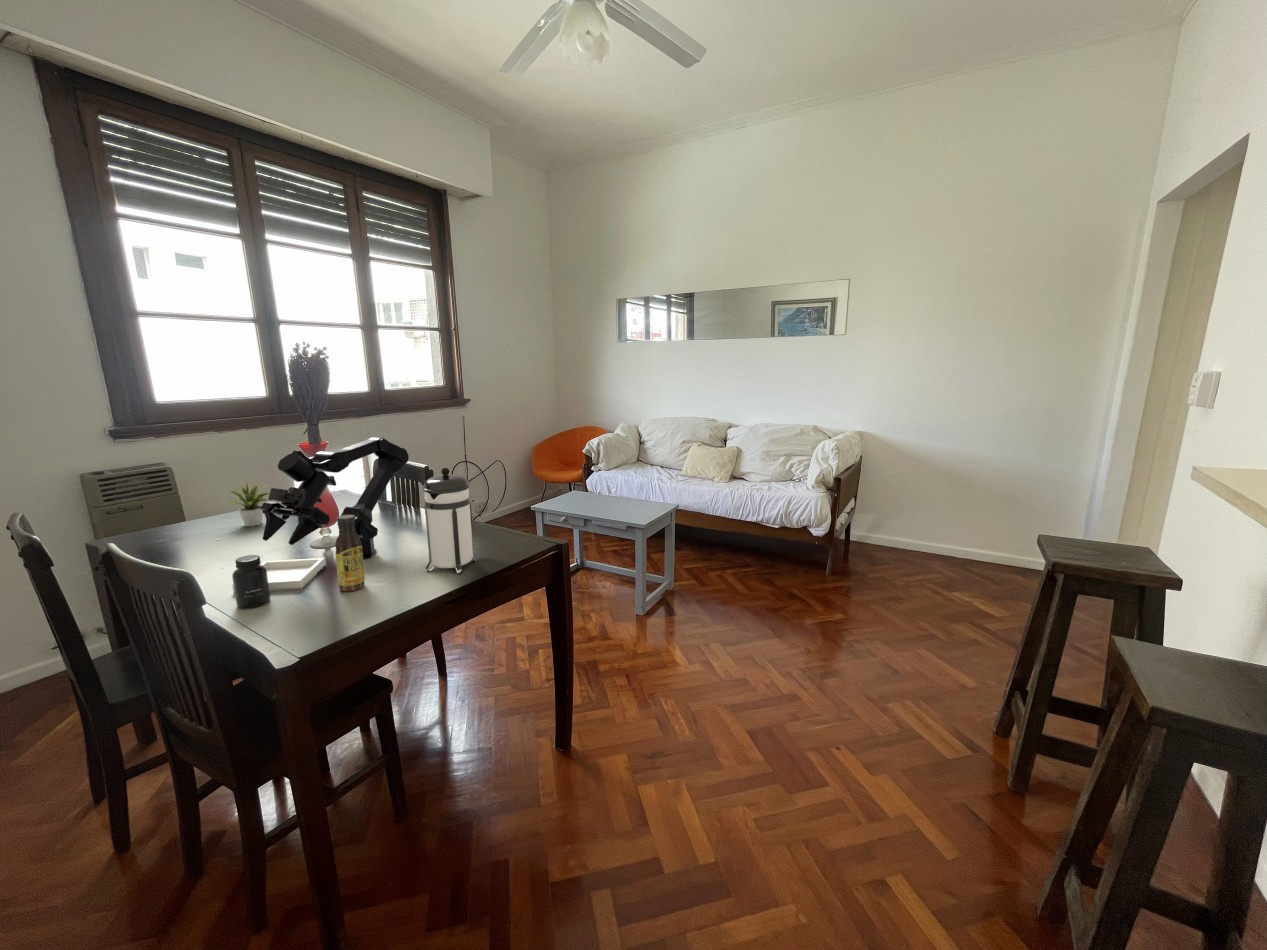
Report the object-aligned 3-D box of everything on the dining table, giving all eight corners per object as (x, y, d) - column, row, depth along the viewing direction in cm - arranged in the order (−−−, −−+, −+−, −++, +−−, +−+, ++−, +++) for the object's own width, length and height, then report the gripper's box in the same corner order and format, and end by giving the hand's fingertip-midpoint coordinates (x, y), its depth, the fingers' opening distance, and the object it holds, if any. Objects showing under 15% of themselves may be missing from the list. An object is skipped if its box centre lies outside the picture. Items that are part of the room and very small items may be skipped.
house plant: (236, 534, 175) (228, 488, 171) (218, 527, 182) (210, 483, 178) (281, 523, 187) (275, 480, 183) (263, 517, 194) (256, 476, 190)
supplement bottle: (253, 611, 122) (245, 564, 119) (230, 608, 123) (221, 562, 120) (278, 598, 128) (271, 554, 126) (255, 595, 130) (248, 552, 127)
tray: (325, 565, 149) (324, 557, 148) (301, 589, 133) (300, 580, 133) (265, 569, 146) (264, 561, 145) (233, 593, 130) (232, 584, 130)
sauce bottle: (347, 594, 130) (337, 522, 126) (334, 589, 134) (324, 518, 129) (371, 585, 136) (363, 515, 131) (358, 580, 139) (350, 511, 135)
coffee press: (488, 569, 147) (482, 469, 141) (430, 580, 139) (421, 475, 133) (473, 550, 162) (467, 459, 155) (420, 559, 154) (411, 464, 147)
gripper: (261, 472, 134) (224, 523, 126) (314, 477, 128) (278, 532, 121) (293, 493, 143) (260, 543, 135) (344, 499, 137) (312, 551, 130)
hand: (277, 542), depth 130 cm, fingers open, 9 cm apart
